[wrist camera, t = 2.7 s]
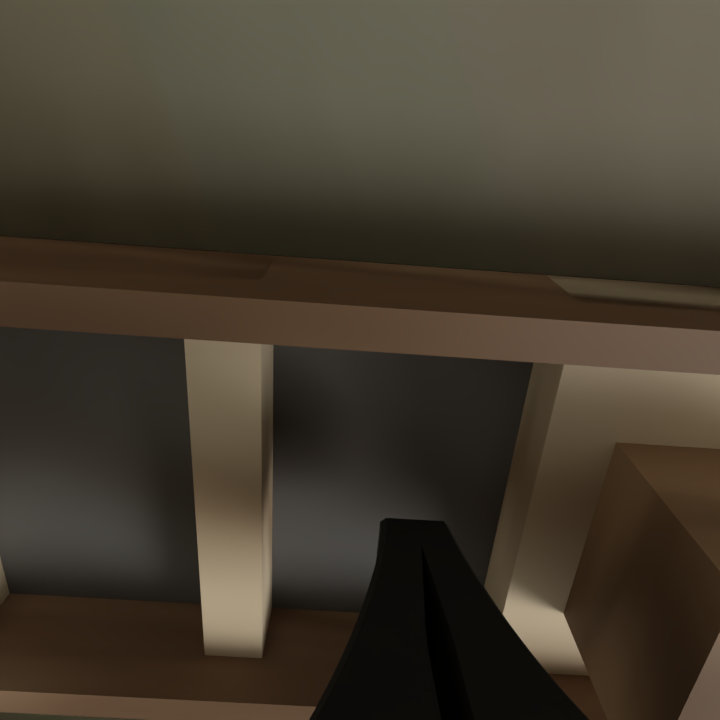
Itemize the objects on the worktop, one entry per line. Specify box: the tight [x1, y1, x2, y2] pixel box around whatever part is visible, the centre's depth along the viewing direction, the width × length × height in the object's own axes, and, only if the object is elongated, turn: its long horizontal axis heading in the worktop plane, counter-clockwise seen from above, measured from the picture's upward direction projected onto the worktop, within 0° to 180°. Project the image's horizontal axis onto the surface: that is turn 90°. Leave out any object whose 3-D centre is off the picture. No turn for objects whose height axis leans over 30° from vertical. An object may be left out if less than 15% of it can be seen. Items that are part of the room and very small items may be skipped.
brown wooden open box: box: [0, 236, 720, 720], centre depth 12 cm, size 11×30×4 cm, turn 86°
